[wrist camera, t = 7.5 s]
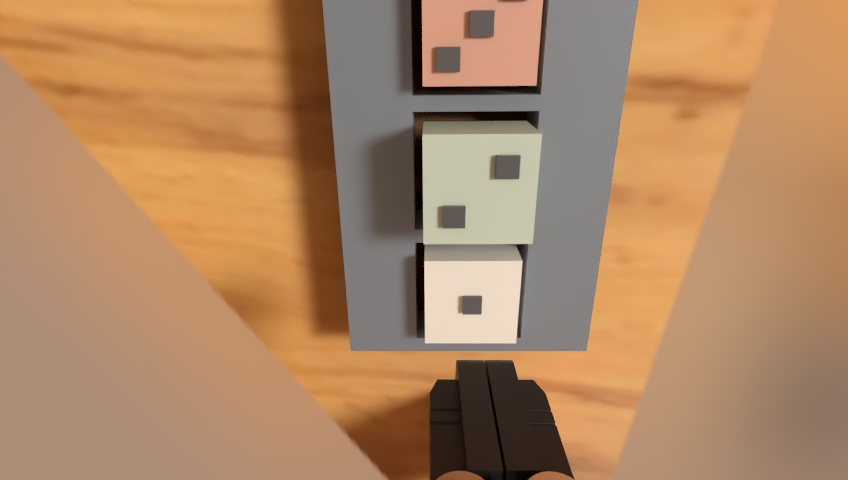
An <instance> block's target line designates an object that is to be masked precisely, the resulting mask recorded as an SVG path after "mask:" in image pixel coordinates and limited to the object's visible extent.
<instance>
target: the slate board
mask: <svg viewBox="0 0 848 480" xmlns="http://www.w3.org/2000/svg"><path fill="white" fill-rule="evenodd" d="M322 5H323V17H324V29H325V41H326V53H327V66H328V78H329V90H330V102H331V114H332V127H333V139H334V151H335V163H336V175H337V188H338V200H339V212H340V224H341V236H342V248H343V261H344V273H345V285H346V297H347V309H348V322H349V334H350V346H351V351H586V350H587V343H588V337H589V330H590V323H591V316H592V310H593V303H594V296H595V289H596V283H597V276H598V269H599V262H600V256H601V249H602V242H603V235H604V229H605V222H606V215H607V208H608V202H609V195H610V188H611V181H612V175H613V168H614V161H615V154H616V148H617V141H618V134H619V127H620V121H621V114H622V107H623V100H624V94H625V87H626V80H627V73H628V67H629V60H630V53H631V46H632V40H633V33H634V26H635V19H636V13H637V6H638V0H543V8H542V21H541V34H540V46H539V59H538V72H537V84H536V86H528V88H500V89H415V88H414V24H413V0H322ZM475 111H527V113H526V121H528V122H529V123H530V124H531V125H532V126H534V127H535V128H536V129H537V130H538V131H540V132H541V133H542V142H541V154H540V165H539V177H538V189H537V200H536V212H535V223H534V235H533V244H517V249H518V251H519V253H520V256H521V258H522V261H523V263H522V275H521V288H520V301H519V313H518V326H517V339H516V343H425V310H418V278H417V243H423V210H416V151H415V112H475Z"/></svg>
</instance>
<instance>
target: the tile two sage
mask: <svg viewBox="0 0 848 480" xmlns="http://www.w3.org/2000/svg"><path fill="white" fill-rule="evenodd" d="M541 142H542V133H541V132H540V131H538V130H537V129H536V128H535V127H534V126H532V125H531V124H530V123H529V122H528V121H423V132H422V160H423V244H533V235H534V223H535V212H536V200H537V189H538V177H539V165H540V154H541Z"/></svg>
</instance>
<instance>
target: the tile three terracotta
mask: <svg viewBox="0 0 848 480" xmlns="http://www.w3.org/2000/svg"><path fill="white" fill-rule="evenodd" d="M542 8H543V0H422V81H423V87H439V86H536V84H537V72H538V59H539V46H540V34H541V21H542Z"/></svg>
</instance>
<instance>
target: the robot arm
mask: <svg viewBox="0 0 848 480" xmlns="http://www.w3.org/2000/svg"><path fill="white" fill-rule="evenodd" d="M429 447H430V480H575V479H574V477H573V475H572V472H571V469H570V466H569V463H568V460H567V457H566V454H565V451H564V448H563V445H562V442H561V439H560V436H559V433H558V430H557V427H556V426H555V421H554V418H553V415H552V412H551V409H550V406H549V403H548V400H547V397H546V394H545V393H544V391H543V390H542V389H541V388H540V387H539V386H538V385H537V384H536V383H535V382H534V380H518V378H517V374H516V370H515V367H514V363H513V361H512V360H485V362H484V361H483V360H457V361H456V378H455V380H437V382H436V383H435V385H434V387H433V389H432V390H431V392H430V430H429Z"/></svg>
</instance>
